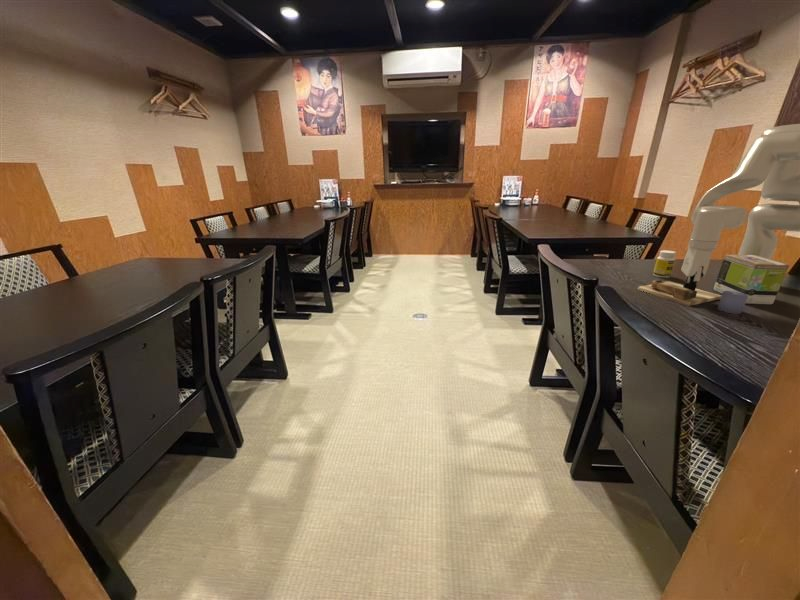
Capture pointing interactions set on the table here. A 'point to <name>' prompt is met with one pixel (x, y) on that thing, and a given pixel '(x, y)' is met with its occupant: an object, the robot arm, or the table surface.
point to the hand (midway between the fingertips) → (687, 292)
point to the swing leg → (672, 288)
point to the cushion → (732, 302)
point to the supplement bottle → (664, 264)
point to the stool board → (681, 295)
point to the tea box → (751, 277)
